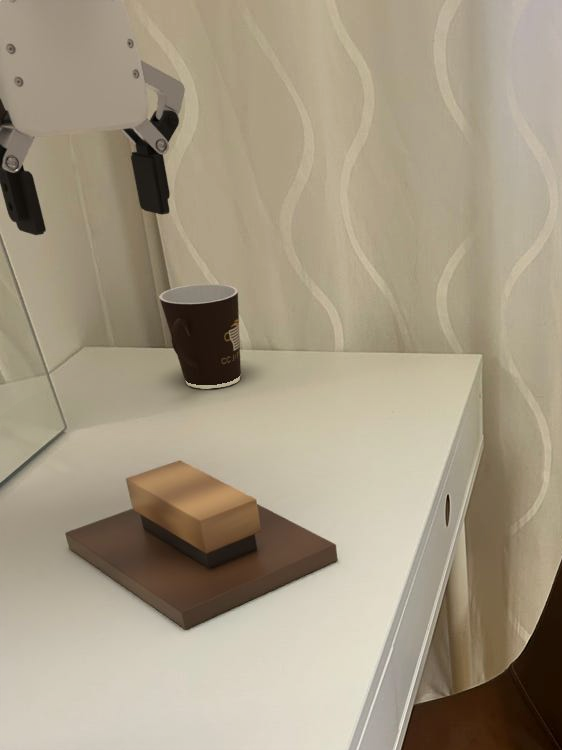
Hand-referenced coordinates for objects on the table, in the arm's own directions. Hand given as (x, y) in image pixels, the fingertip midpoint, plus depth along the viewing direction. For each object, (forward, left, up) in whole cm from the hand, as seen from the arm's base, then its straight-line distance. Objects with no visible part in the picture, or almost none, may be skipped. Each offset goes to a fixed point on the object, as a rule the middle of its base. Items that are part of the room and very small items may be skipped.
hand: (96, 221), depth 71 cm
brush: (+8, -1, -23) cm, 24 cm away
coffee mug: (-28, +22, -24) cm, 43 cm away
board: (+8, -1, -24) cm, 26 cm away
